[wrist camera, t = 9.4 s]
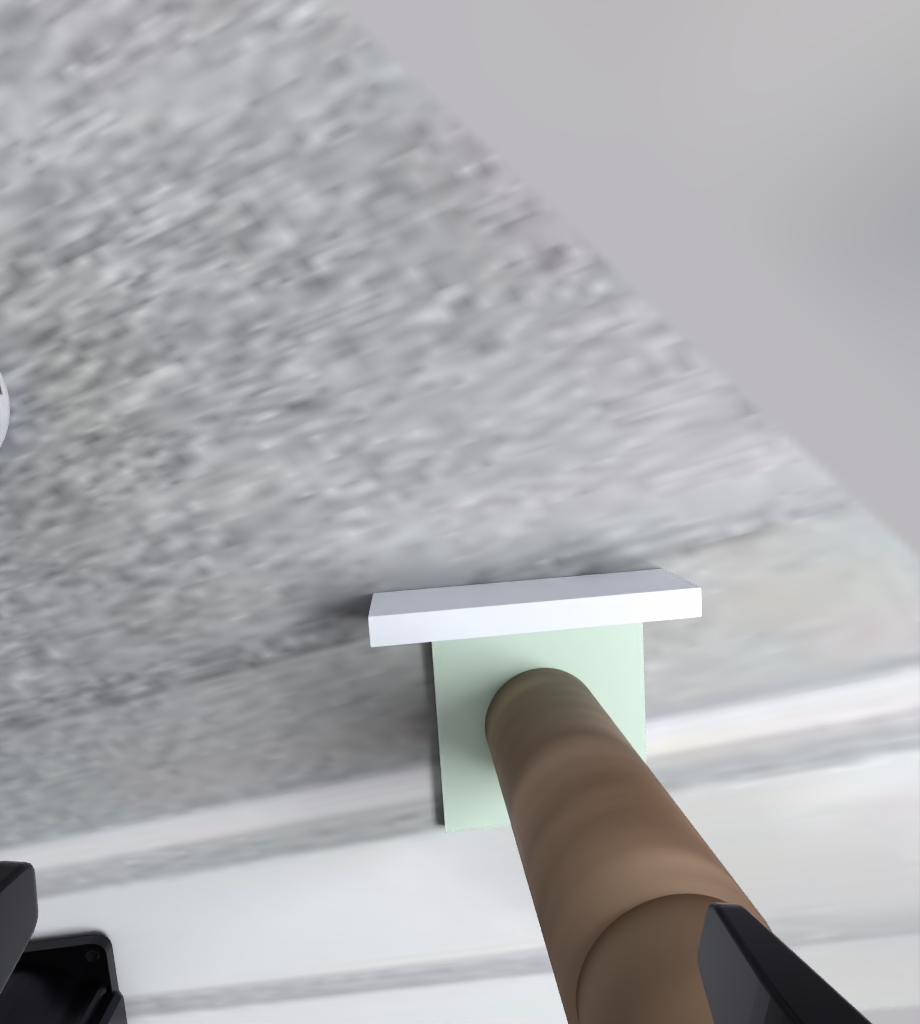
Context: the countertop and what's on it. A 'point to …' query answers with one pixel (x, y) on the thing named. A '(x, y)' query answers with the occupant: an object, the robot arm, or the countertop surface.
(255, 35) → the countertop surface
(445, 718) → the coaster
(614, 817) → the pepper mill
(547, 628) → the rail
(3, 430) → the supplement bottle
